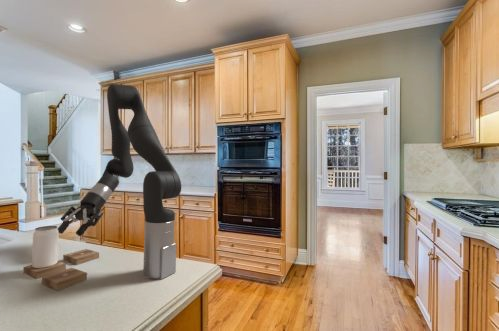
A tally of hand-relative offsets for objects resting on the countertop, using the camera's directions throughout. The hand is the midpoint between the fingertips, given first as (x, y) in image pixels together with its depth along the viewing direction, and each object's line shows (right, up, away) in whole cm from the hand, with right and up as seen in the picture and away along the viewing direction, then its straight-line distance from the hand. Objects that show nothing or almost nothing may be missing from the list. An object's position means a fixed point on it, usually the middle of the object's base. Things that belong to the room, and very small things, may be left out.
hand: (68, 233), depth 89 cm
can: (-2, -8, -7) cm, 11 cm away
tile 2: (-2, -10, -7) cm, 13 cm away
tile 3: (+2, -10, +4) cm, 11 cm away
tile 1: (+9, -10, -14) cm, 20 cm away
